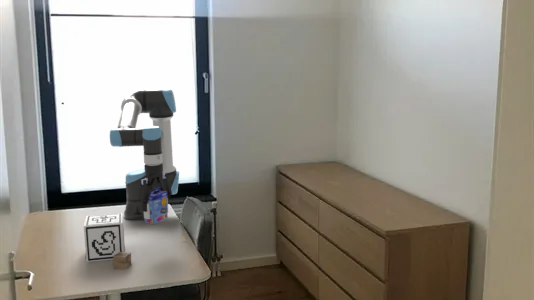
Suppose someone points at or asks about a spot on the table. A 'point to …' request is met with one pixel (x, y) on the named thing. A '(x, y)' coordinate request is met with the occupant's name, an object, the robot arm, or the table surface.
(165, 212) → the ink cartridge box
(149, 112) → the robot arm
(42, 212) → the table surface
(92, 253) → the block
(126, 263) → the walnut cube
